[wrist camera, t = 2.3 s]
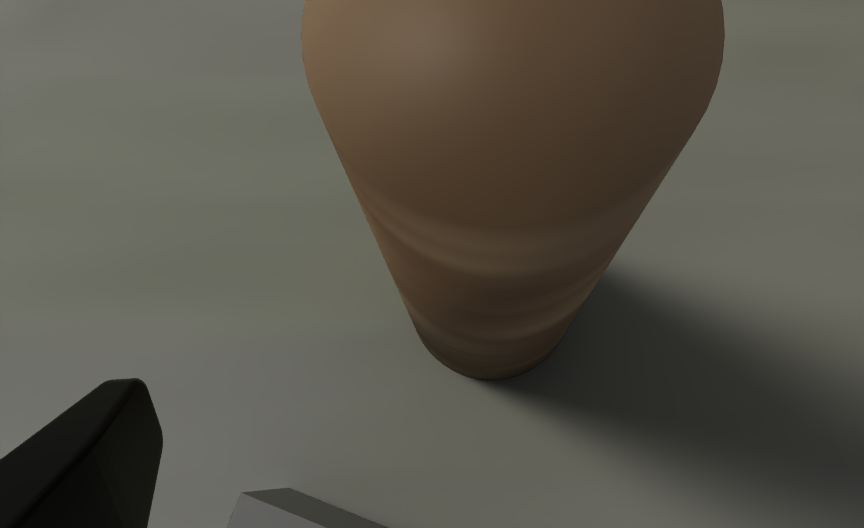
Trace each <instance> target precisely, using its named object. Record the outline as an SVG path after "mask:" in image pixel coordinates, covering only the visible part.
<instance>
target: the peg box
mask: <svg viewBox="0 0 864 528" xmlns="http://www.w3.org/2000/svg"><path fill="white" fill-rule="evenodd" d="M227 528H387V527H384V526H382V525H379V524H377V523H375V522H372V521H370V520H367V519H365V518H362V517H360V516H357V515H355V514H352V513H350V512H347V511H345V510H342V509H340V508H337V507H335V506H332V505H330V504H327V503H325V502H322V501H320V500H317V499H315V498H312V497H310V496H307V495H305V494H303V493H300V492H298V491H295V490H293V489H290V488H281V489H272V490H262V491H252V492H243V493H241V494H240V496H239V499H238V501H237V503H236V506H235V508H234V511H233V513H232V515H231V518H230V520H229V523H228V525H227Z"/></svg>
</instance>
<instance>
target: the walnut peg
mask: <svg viewBox="0 0 864 528" xmlns="http://www.w3.org/2000/svg"><path fill="white" fill-rule="evenodd" d="M301 37H302V53H303V62H304V67H305V71H306V76H307V81H308V85H309V87H310V90H311V93H312V96H313V98H314V101H315V104H316V106H317V109H318V111H319V113H320V115H321V118H322V120H323V122H324V124H325V127H326V129H327V131H328V133H329V136H330V138H331V140H332V142H333V145H334V147H335V149H336V151H337V154H338V156H339V158H340V160H341V163H342V165H343V167H344V169H345V172H346V174H347V176H348V178H349V180H350V183H351V185H352V187H353V189H354V192H355V194H356V196H357V198H358V201H359V203H360V205H361V207H362V210H363V212H364V214H365V216H366V219H367V221H368V223H369V225H370V228H371V230H372V232H373V234H374V237H375V239H376V241H377V243H378V245H379V248H380V250H381V252H382V254H383V257H384V259H385V261H386V263H387V266H388V268H389V270H390V272H391V275H392V277H393V279H394V281H395V284H396V286H397V288H398V290H399V293H400V295H401V297H402V299H403V302H404V304H405V306H406V308H407V311H408V313H409V315H410V317H411V319H412V322H413V324H414V326H415V328H416V331H417V333H418V335H419V337H420V339H421V340H422V342H423V344H424V345H425V346H426V348H427V349H428V351H429V352H430V353H431V354H432V355H433V356H434V357H435V358H436V359H437V360H439V361H440V362H441V363H442V364H443V365H445V366H447V367H448V368H450V369H451V370H453V371H455V372H458V373H460V374H462V375H465V376H469V377H472V378H478V379H486V380H496V379H505V378H509V377H513V376H517V375H519V374H522V373H524V372H526V371H528V370H530V369H532V368H534V367H535V366H537V365H538V364H539V363H541V362H542V361H543V360H544V359H545V358H546V357H547V356H548V355H549V354H550V353H551V352H552V351H553V350H554V348H555V347H556V346H557V344H558V343H559V341H560V340H561V338H562V337H563V335H564V333H565V332H566V330H567V329H568V327H569V326H570V324H571V322H572V321H573V319H574V318H575V316H576V315H577V313H578V312H579V310H580V308H581V307H582V305H583V304H584V302H585V301H586V299H587V298H588V296H589V294H590V293H591V291H592V290H593V288H594V287H595V285H596V283H597V282H598V280H599V279H600V277H601V276H602V274H603V273H604V271H605V269H606V268H607V266H608V265H609V263H610V262H611V260H612V259H613V257H614V255H615V254H616V252H617V251H618V249H619V248H620V246H621V244H622V243H623V241H624V240H625V238H626V237H627V235H628V234H629V232H630V230H631V229H632V227H633V226H634V224H635V223H636V221H637V220H638V218H639V216H640V215H641V213H642V212H643V210H644V209H645V207H646V205H647V204H648V202H649V201H650V199H651V198H652V196H653V195H654V193H655V191H656V190H657V188H658V187H659V185H660V184H661V182H662V181H663V179H664V177H665V176H666V174H667V173H668V171H669V170H670V168H671V166H672V165H673V163H674V162H675V160H676V159H677V157H678V156H679V154H680V152H681V151H682V149H683V148H684V146H685V145H686V143H687V142H688V140H689V138H690V137H691V135H692V134H693V132H694V130H695V129H696V127H697V125H698V124H699V122H700V120H701V118H702V117H703V115H704V113H705V112H706V110H707V108H708V105H709V103H710V100H711V98H712V95H713V93H714V90H715V88H716V85H717V81H718V77H719V73H720V68H721V64H722V60H723V48H724V37H725V33H724V17H723V7H722V3H721V0H306V1H305V5H304V10H303V21H302V33H301Z"/></svg>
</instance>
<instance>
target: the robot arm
mask: <svg viewBox="0 0 864 528" xmlns="http://www.w3.org/2000/svg"><path fill="white" fill-rule="evenodd" d="M162 448H163V435H162V430H161V426H160V423H159V420H158V417H157V415H156V412H155V409H154V406H153V403H152V400H151V397H150V394H149V391H148V388H147V386H146V384H145V383H144V382H143V381H142V380H140V379H138V378H131V379H116V380H108V381H105V382H104V383H102V384H101V385H99V386H98V387H97V388H95V389H94V390H93V391H91V392H90V393H89V394H87V395H86V396H85V397H83V398H82V399H81V400H79V401H78V402H77V403H75V404H74V405H73V406H71V407H70V408H69V409H67V410H66V411H65V412H63V413H62V414H61V415H59V416H58V417H57V418H55V419H54V420H53V421H51V422H50V423H49V424H47V425H46V426H45V427H43V428H42V429H41V430H39V431H38V432H37V433H35V434H34V435H33V436H31V437H30V438H29V439H27V440H26V441H25V442H23V443H22V444H21V445H19V446H18V447H17V448H15V449H14V450H13V451H11V452H10V453H9V454H7V455H6V456H5V457H3V458H2V459H1V460H0V528H147V525H148V520H149V515H150V510H151V505H152V500H153V495H154V490H155V485H156V480H157V474H158V469H159V464H160V459H161V454H162Z"/></svg>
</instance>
